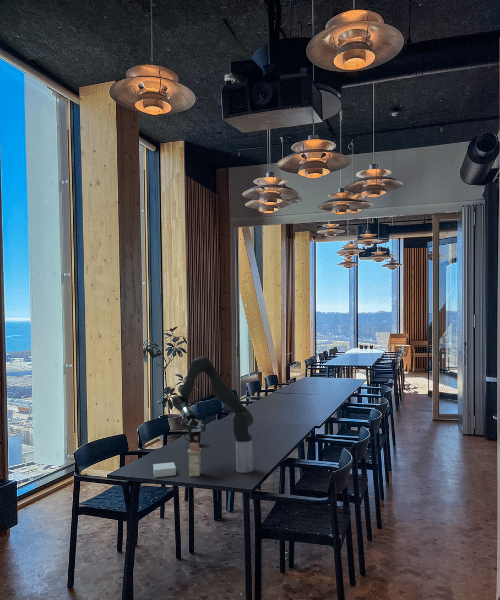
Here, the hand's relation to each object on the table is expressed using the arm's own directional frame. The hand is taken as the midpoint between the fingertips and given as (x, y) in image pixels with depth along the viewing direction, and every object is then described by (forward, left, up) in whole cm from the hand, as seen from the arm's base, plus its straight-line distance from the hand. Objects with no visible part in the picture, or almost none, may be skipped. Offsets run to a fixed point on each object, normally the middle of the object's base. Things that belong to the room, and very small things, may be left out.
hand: (197, 431), depth 284 cm
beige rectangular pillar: (+3, +5, -23) cm, 24 cm away
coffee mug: (-5, -64, -23) cm, 69 cm away
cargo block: (+3, +5, -9) cm, 11 cm away
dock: (+19, -4, -23) cm, 30 cm away
